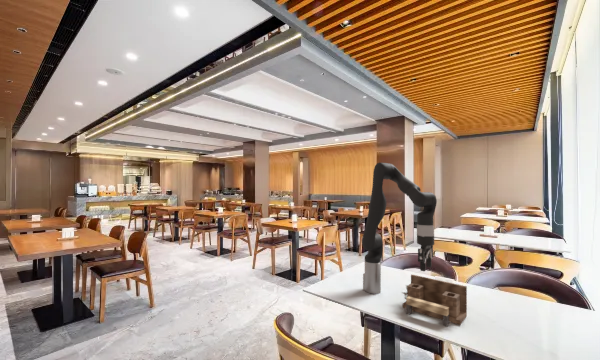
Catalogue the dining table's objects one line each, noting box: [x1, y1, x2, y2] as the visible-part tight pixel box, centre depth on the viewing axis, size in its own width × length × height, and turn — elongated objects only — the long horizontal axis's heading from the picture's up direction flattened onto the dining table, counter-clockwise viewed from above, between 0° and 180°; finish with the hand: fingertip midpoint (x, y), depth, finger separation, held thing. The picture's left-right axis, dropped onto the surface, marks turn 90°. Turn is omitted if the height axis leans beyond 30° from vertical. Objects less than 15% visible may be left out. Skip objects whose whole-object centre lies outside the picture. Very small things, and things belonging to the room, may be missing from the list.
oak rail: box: [405, 296, 450, 327], centre depth 131 cm, size 18×3×8 cm, turn 48°
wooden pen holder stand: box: [402, 274, 468, 326], centre depth 138 cm, size 26×12×14 cm, turn 48°
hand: (426, 269), depth 132 cm, fingers open, 8 cm apart
